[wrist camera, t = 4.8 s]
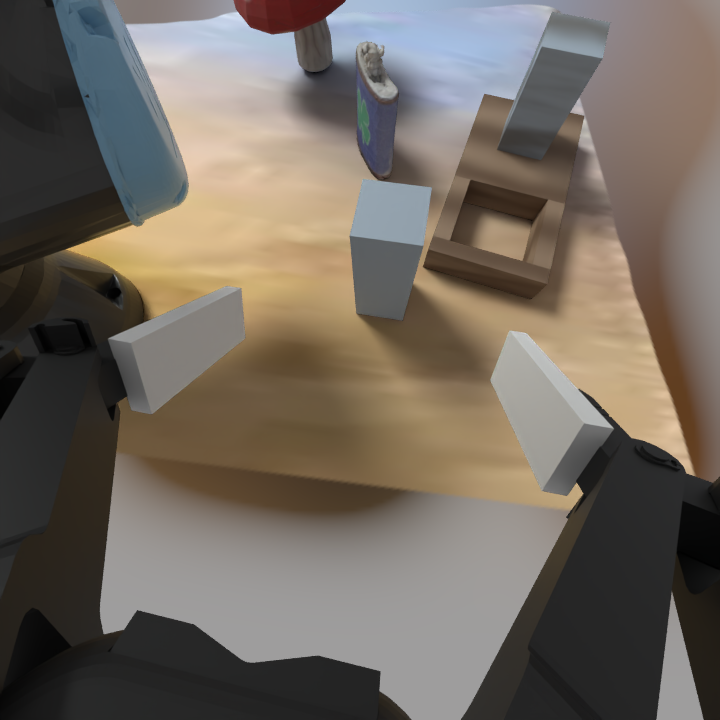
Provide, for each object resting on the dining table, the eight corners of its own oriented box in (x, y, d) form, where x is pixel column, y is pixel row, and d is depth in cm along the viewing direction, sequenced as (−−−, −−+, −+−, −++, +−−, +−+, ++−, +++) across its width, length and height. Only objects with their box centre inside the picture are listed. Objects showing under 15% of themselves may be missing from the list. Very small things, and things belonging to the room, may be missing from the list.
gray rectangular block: (402, 320, 31) (423, 245, 20) (356, 313, 31) (349, 235, 20) (409, 279, 32) (431, 187, 21) (364, 273, 33) (363, 178, 21)
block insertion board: (530, 299, 31) (625, 213, 20) (423, 266, 33) (453, 168, 21) (567, 141, 38) (655, 6, 26) (475, 119, 39) (520, -17, 28)
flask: (394, 177, 37) (404, 72, 26) (372, 183, 36) (373, 79, 26) (372, 126, 39) (374, 12, 29) (351, 132, 39) (345, 19, 29)
